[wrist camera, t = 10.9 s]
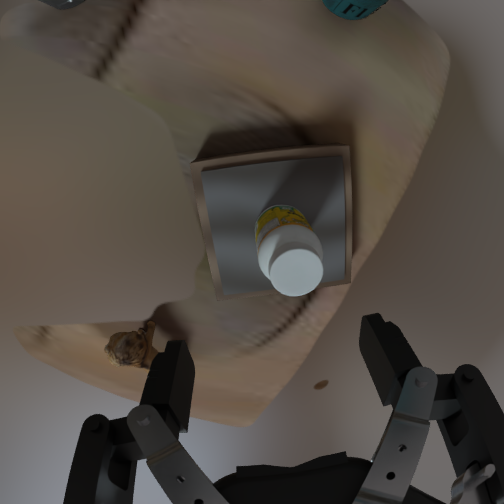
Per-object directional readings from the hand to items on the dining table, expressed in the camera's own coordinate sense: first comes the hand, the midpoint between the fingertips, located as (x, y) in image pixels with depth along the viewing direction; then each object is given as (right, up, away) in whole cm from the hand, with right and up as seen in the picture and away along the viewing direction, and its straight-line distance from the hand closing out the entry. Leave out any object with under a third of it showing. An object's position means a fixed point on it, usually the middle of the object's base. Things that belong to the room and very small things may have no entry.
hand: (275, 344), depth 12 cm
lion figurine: (-16, -10, +29) cm, 34 cm away
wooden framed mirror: (+2, +8, +21) cm, 22 cm away
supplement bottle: (+2, +7, +17) cm, 19 cm away
